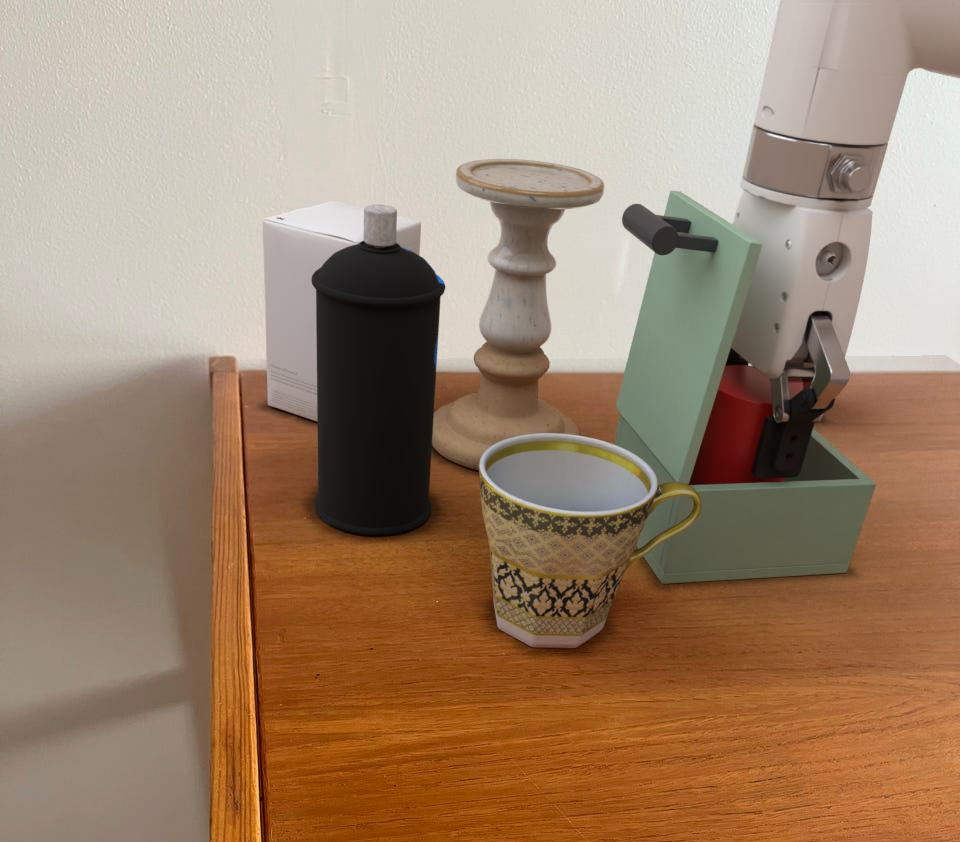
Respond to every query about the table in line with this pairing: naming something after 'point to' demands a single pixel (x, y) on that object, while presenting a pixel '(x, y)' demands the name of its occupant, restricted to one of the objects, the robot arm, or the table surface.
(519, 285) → the candle holder
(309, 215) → the rectangular carton
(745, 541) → the green open box
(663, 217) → the lid
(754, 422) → the can
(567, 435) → the ceramic cup
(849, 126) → the robot arm
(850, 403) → the table surface
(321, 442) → the aerosol can
